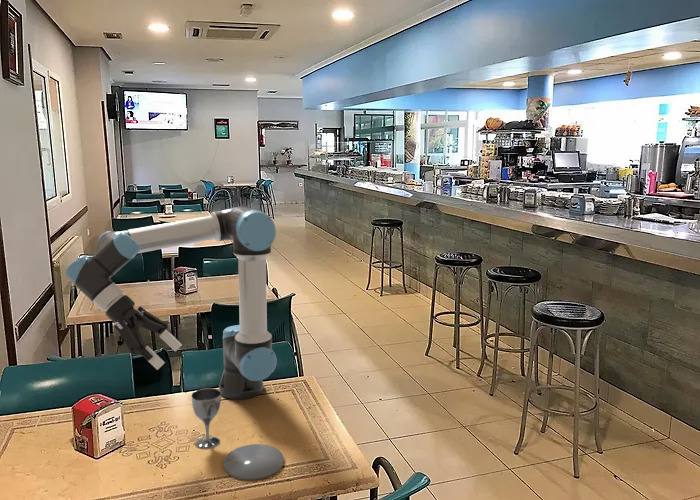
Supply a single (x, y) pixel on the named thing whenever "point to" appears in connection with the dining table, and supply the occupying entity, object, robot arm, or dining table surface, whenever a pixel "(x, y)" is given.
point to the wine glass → (206, 413)
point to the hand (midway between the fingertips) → (170, 357)
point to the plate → (253, 462)
